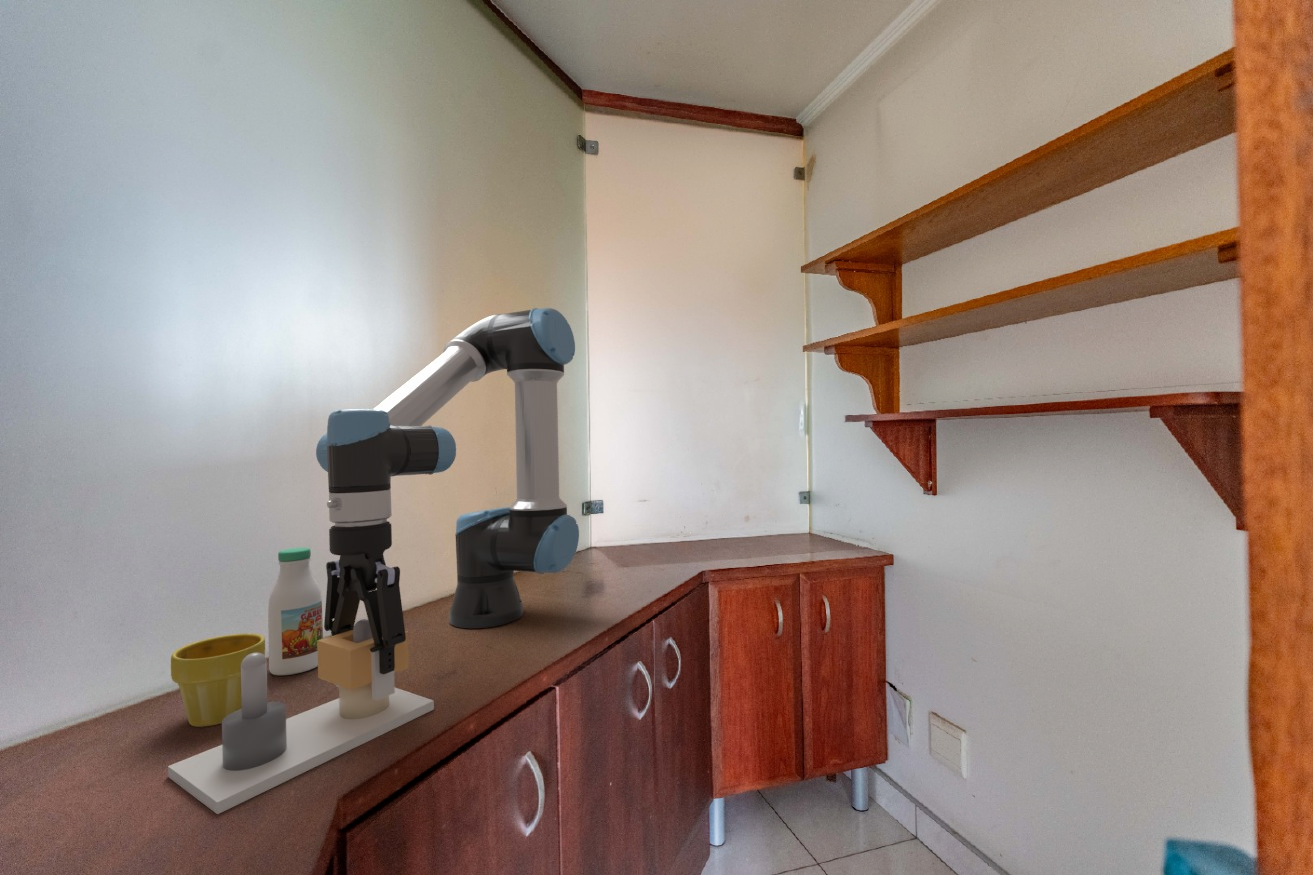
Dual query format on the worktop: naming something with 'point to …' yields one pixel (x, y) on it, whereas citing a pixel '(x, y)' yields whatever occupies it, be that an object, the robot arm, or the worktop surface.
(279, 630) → the milk bottle
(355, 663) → the collar
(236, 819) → the worktop surface
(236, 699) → the plant pot
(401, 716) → the assembly board
